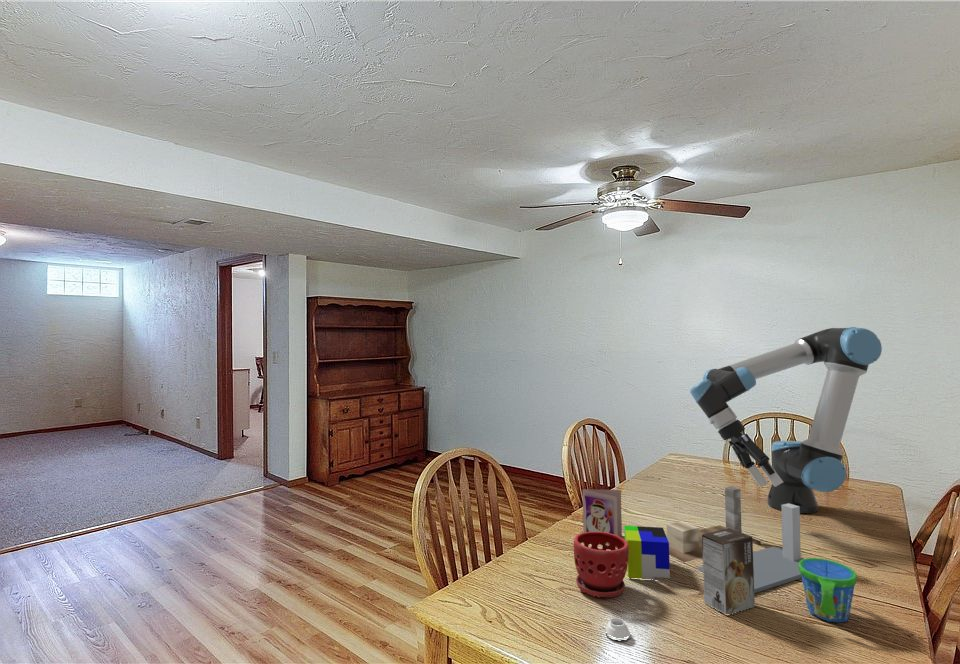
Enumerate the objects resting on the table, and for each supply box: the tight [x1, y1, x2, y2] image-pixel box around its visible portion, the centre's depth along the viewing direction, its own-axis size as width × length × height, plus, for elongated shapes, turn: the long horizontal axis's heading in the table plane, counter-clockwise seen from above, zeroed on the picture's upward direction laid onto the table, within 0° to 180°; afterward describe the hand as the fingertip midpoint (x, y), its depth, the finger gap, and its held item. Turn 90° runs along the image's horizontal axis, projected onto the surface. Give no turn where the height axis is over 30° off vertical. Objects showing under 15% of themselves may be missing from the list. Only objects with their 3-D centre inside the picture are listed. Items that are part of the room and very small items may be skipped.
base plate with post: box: [695, 503, 805, 594], centre depth 131 cm, size 30×14×15 cm, turn 114°
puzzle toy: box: [624, 525, 671, 580], centre depth 132 cm, size 10×10×10 cm
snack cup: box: [799, 557, 858, 623], centre depth 110 cm, size 16×10×10 cm
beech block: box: [666, 520, 700, 553], centre depth 144 cm, size 6×6×6 cm
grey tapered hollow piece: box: [605, 617, 631, 638], centre depth 104 cm, size 5×3×5 cm
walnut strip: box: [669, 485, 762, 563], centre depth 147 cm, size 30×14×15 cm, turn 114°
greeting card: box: [582, 488, 623, 537], centre depth 152 cm, size 11×7×15 cm, turn 47°
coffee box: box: [702, 528, 756, 615], centre depth 115 cm, size 9×6×16 cm
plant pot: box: [573, 532, 629, 598], centre depth 124 cm, size 13×13×12 cm
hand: (771, 485), depth 155 cm, fingers open, 13 cm apart
